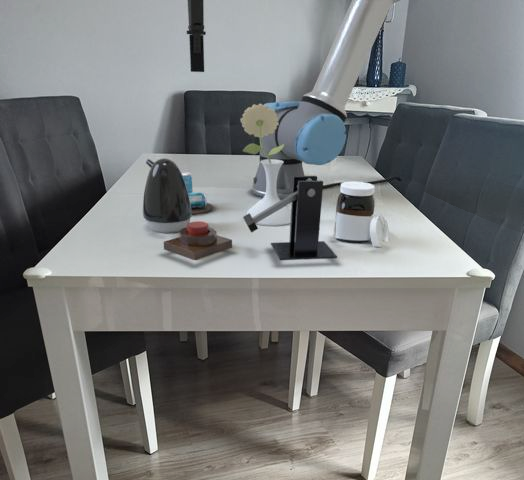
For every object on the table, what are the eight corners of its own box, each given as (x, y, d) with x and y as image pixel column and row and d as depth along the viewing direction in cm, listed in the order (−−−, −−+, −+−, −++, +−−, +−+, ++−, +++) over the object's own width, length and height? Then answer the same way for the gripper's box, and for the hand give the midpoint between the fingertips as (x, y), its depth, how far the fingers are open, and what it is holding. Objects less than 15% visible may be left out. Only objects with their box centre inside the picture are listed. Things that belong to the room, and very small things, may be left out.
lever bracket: (279, 266, 97) (283, 184, 90) (270, 249, 105) (273, 173, 97) (336, 264, 99) (344, 184, 91) (323, 248, 106) (330, 173, 99)
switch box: (201, 243, 107) (201, 221, 105) (232, 253, 103) (232, 230, 100) (164, 255, 100) (162, 232, 98) (195, 266, 96) (194, 242, 94)
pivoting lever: (252, 235, 95) (246, 223, 93) (247, 225, 100) (241, 214, 99) (321, 194, 93) (315, 182, 92) (312, 186, 98) (307, 175, 97)
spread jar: (332, 233, 115) (338, 178, 109) (384, 236, 114) (392, 181, 109) (333, 251, 105) (339, 192, 99) (390, 254, 104) (399, 195, 98)
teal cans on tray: (205, 201, 136) (204, 169, 132) (218, 213, 127) (217, 179, 123) (159, 203, 132) (157, 171, 128) (168, 216, 123) (166, 182, 119)
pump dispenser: (169, 222, 119) (165, 152, 111) (202, 232, 113) (200, 158, 106) (134, 232, 112) (126, 158, 104) (166, 243, 106) (161, 165, 99)
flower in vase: (300, 220, 123) (307, 103, 111) (287, 234, 114) (293, 108, 101) (247, 214, 127) (249, 100, 114) (231, 227, 117) (230, 104, 105)
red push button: (198, 229, 102) (197, 220, 101) (212, 233, 100) (212, 224, 99) (182, 233, 99) (182, 224, 98) (197, 238, 97) (197, 228, 96)
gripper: (171, -69, 101) (177, 69, 113) (173, -83, 90) (180, 72, 102) (210, -66, 102) (212, 70, 114) (216, -80, 91) (218, 73, 103)
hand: (197, 71), depth 108 cm, fingers closed
